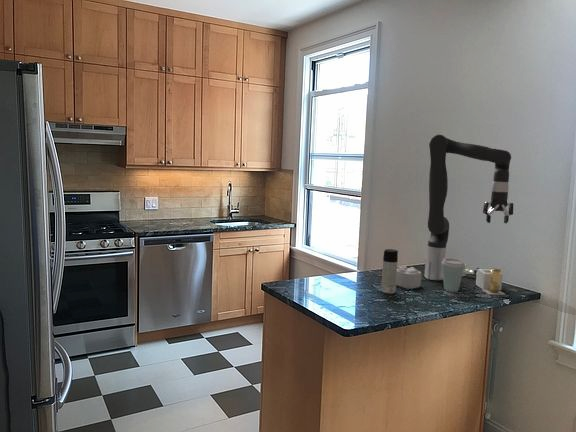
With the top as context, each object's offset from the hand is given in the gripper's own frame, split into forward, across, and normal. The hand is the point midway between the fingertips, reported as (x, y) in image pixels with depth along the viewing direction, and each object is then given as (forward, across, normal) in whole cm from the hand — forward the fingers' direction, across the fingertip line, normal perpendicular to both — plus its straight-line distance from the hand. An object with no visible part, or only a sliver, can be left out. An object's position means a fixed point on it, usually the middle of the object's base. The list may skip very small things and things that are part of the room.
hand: (496, 222), depth 240 cm
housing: (+32, +4, +4) cm, 33 cm away
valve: (+32, +6, -15) cm, 36 cm away
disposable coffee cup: (+32, +25, +12) cm, 43 cm away
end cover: (+32, +5, +14) cm, 35 cm away
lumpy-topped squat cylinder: (+32, +45, +4) cm, 56 cm away
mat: (+32, +5, +14) cm, 35 cm away
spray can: (+32, +57, +18) cm, 68 cm away
